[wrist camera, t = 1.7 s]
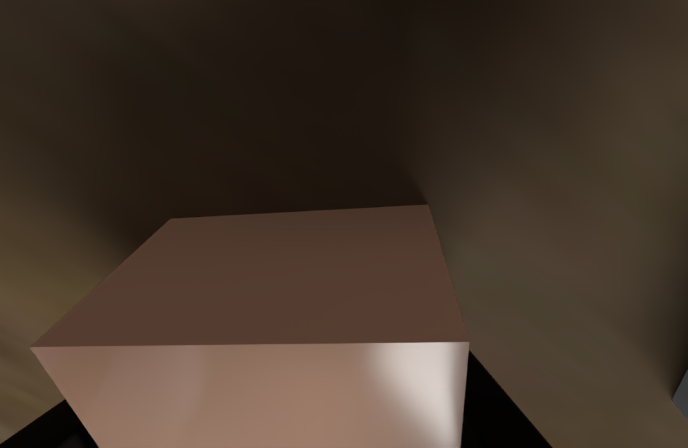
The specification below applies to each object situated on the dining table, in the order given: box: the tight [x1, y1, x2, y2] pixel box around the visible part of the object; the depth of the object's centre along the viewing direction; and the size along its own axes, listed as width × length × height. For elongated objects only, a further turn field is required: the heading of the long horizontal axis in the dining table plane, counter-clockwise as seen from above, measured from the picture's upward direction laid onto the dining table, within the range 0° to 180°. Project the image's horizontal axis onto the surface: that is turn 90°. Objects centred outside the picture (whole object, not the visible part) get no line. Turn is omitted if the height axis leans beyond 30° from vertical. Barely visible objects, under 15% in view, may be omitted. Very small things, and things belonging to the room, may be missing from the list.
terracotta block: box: [30, 205, 469, 448], centre depth 8 cm, size 6×6×4 cm
